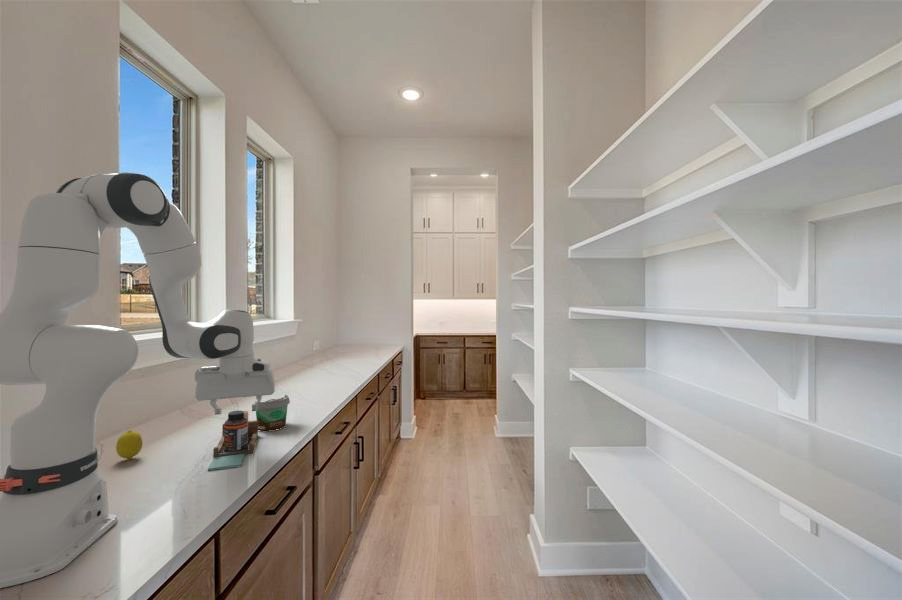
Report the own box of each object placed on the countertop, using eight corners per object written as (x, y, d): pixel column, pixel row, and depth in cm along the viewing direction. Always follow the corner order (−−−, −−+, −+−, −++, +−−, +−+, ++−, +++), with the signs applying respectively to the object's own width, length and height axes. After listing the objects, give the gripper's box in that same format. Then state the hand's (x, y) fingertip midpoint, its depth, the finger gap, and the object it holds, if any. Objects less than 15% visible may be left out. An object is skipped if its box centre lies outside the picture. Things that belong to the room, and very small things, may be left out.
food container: (264, 435, 126) (264, 404, 126) (253, 431, 129) (253, 401, 129) (297, 425, 136) (297, 396, 136) (286, 422, 139) (286, 394, 139)
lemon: (127, 464, 103) (127, 434, 103) (110, 462, 104) (110, 432, 104) (147, 456, 108) (147, 427, 108) (131, 454, 109) (131, 426, 109)
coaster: (240, 466, 102) (241, 464, 102) (207, 470, 99) (207, 468, 99) (244, 455, 109) (244, 453, 109) (213, 459, 106) (213, 457, 106)
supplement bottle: (218, 453, 111) (218, 414, 111) (235, 446, 116) (236, 408, 116) (235, 456, 109) (235, 416, 109) (251, 448, 115) (252, 410, 115)
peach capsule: (247, 444, 118) (247, 414, 118) (228, 446, 116) (228, 416, 116) (248, 438, 123) (249, 410, 123) (230, 440, 121) (231, 411, 121)
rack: (252, 454, 110) (253, 436, 110) (213, 459, 106) (213, 441, 106) (257, 435, 125) (257, 420, 125) (223, 439, 122) (223, 423, 122)
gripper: (192, 369, 106) (192, 419, 106) (274, 364, 114) (274, 411, 114) (197, 365, 112) (197, 412, 112) (275, 361, 120) (275, 405, 120)
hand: (236, 412), depth 113 cm, fingers open, 8 cm apart
